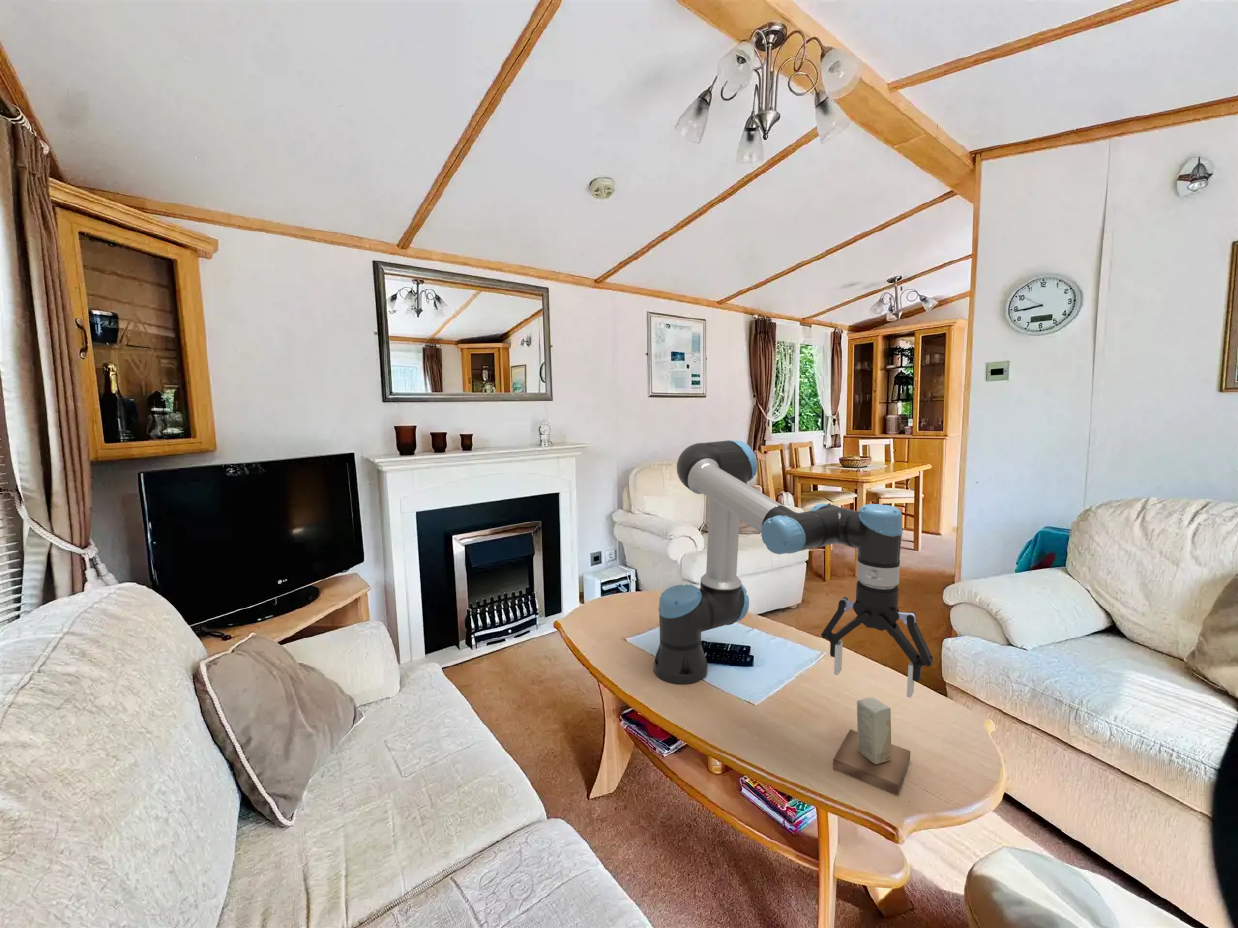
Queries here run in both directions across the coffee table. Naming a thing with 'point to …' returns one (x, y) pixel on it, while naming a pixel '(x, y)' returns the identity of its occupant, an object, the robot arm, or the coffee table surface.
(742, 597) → the robot arm
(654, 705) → the coffee table surface
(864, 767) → the walnut block
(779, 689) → the coffee table surface
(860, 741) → the box
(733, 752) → the coffee table surface
